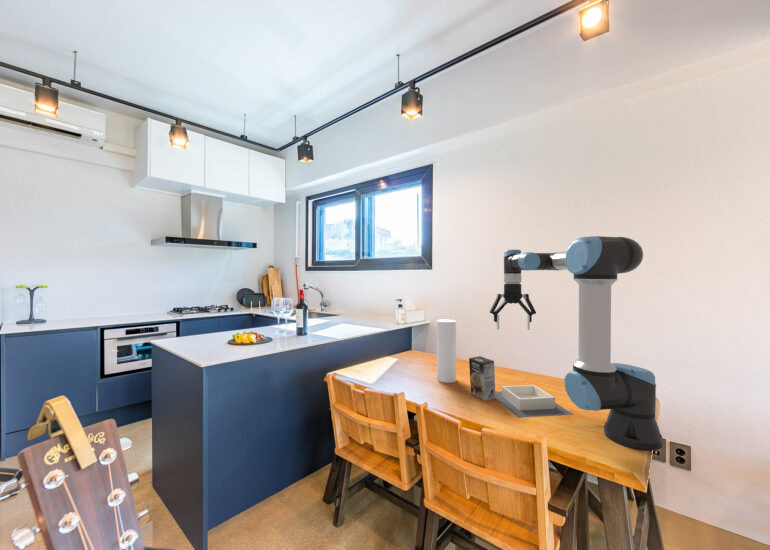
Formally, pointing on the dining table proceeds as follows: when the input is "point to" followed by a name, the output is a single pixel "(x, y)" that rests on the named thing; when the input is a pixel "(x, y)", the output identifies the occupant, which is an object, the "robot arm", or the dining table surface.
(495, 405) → the dining table surface
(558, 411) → the mat
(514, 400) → the tray
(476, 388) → the coffee box
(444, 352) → the cylinder container
